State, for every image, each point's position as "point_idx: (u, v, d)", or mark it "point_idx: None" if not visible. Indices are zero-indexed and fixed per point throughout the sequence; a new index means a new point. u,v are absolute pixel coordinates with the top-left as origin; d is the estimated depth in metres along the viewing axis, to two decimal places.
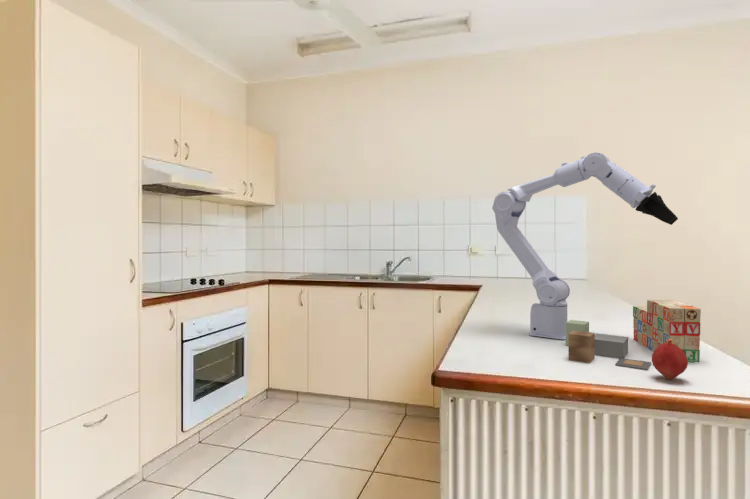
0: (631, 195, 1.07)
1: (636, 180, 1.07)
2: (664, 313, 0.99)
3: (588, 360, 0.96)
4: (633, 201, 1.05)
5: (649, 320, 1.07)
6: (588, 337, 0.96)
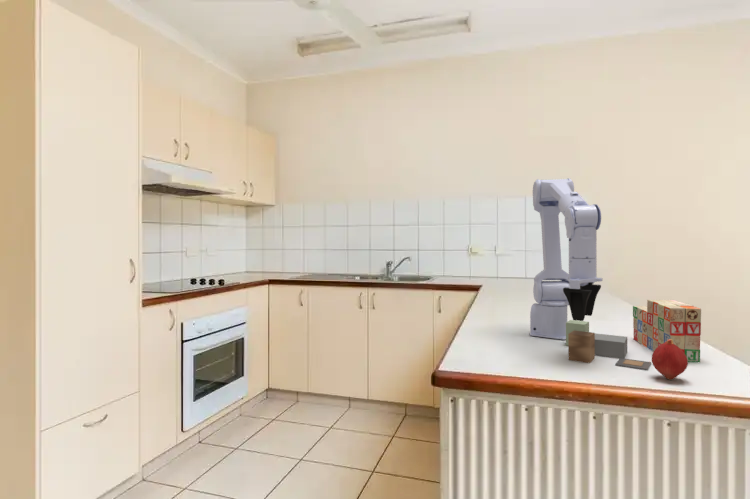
0: (575, 272, 0.97)
1: (593, 263, 0.96)
2: (665, 313, 0.99)
3: (588, 360, 0.96)
4: (569, 280, 0.96)
5: (649, 320, 1.07)
6: (588, 337, 0.96)
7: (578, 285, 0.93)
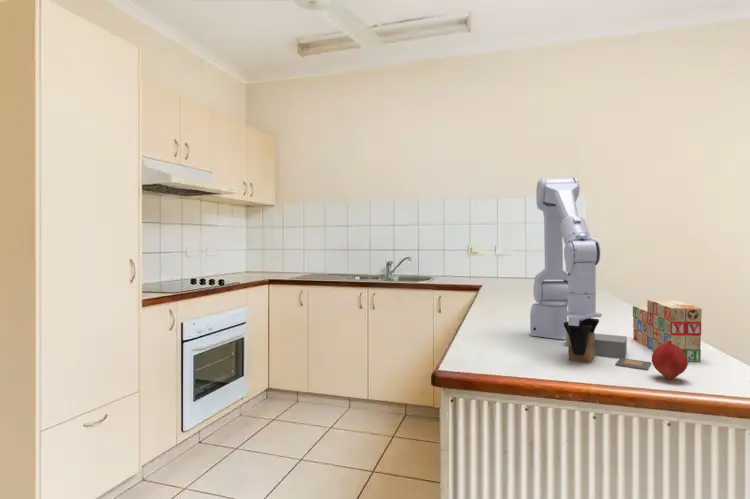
0: (574, 307, 0.97)
1: (592, 299, 0.96)
2: (665, 313, 0.99)
3: (588, 360, 0.96)
4: (568, 315, 0.97)
5: (649, 320, 1.07)
6: (588, 337, 0.96)
7: (577, 322, 0.93)
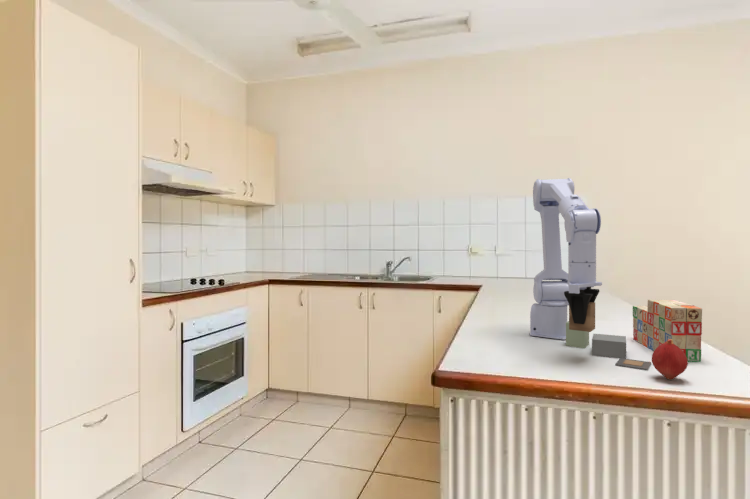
0: (574, 276, 0.97)
1: (592, 268, 0.96)
2: (666, 313, 0.99)
3: (589, 329, 0.96)
4: (569, 284, 0.96)
5: (650, 320, 1.07)
6: (589, 306, 0.96)
7: (577, 290, 0.93)
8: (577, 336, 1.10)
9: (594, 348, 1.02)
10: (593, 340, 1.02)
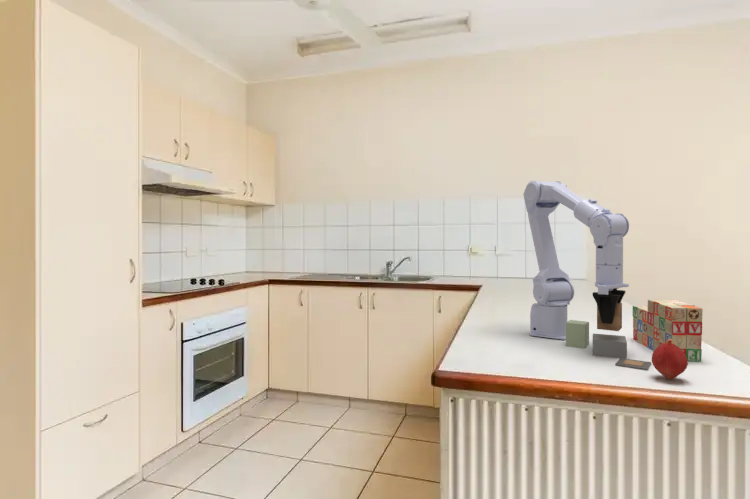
0: (602, 278, 1.02)
1: (619, 270, 1.01)
2: (666, 313, 0.99)
3: (616, 328, 1.01)
4: (597, 285, 1.01)
5: (650, 320, 1.07)
6: (616, 306, 1.00)
7: (607, 291, 0.97)
8: (577, 336, 1.10)
9: (594, 348, 1.02)
10: (594, 340, 1.02)
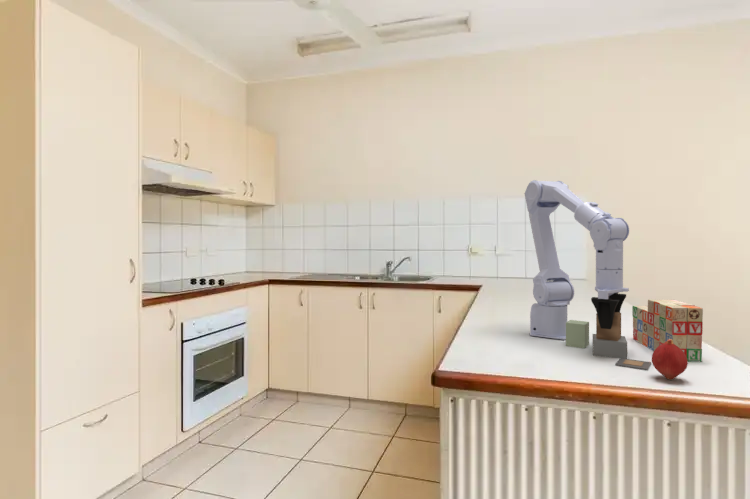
0: (602, 282, 1.02)
1: (619, 274, 1.01)
2: (666, 313, 0.99)
3: (616, 338, 1.01)
4: (597, 290, 1.01)
5: (650, 320, 1.07)
6: (616, 316, 1.01)
7: (606, 295, 0.97)
8: (577, 336, 1.10)
9: (595, 348, 1.02)
10: (594, 341, 1.02)
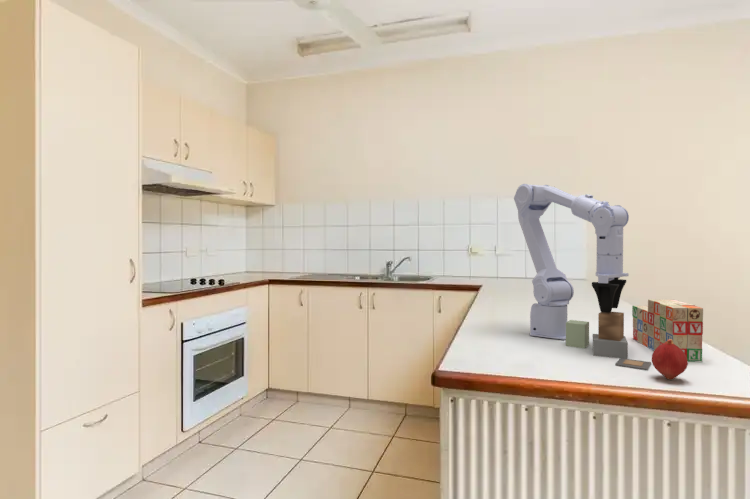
0: (603, 267, 1.05)
1: (619, 260, 1.04)
2: (667, 313, 0.99)
3: (618, 338, 1.01)
4: (597, 275, 1.04)
5: (650, 320, 1.07)
6: (618, 316, 1.00)
7: (606, 280, 1.00)
8: (577, 336, 1.10)
9: (595, 348, 1.02)
10: (594, 341, 1.02)
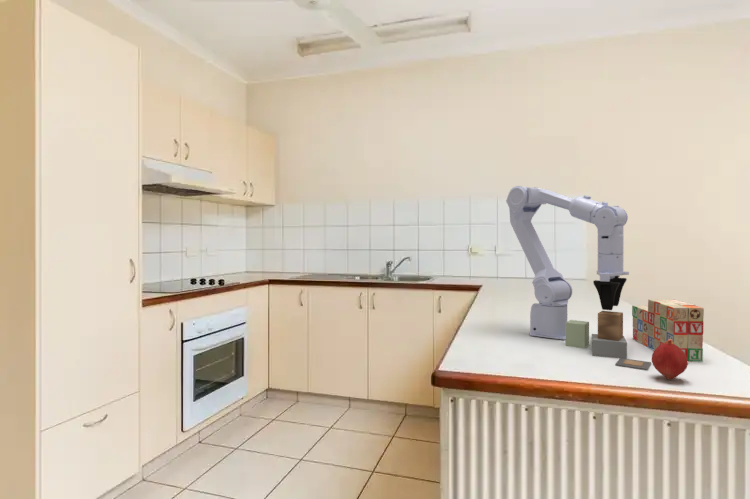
0: (604, 266, 1.08)
1: (620, 259, 1.07)
2: (667, 312, 0.99)
3: (617, 338, 1.01)
4: (599, 273, 1.07)
5: (650, 319, 1.08)
6: (617, 316, 1.01)
7: (608, 278, 1.03)
8: (577, 336, 1.10)
9: (595, 348, 1.02)
10: (594, 341, 1.02)
